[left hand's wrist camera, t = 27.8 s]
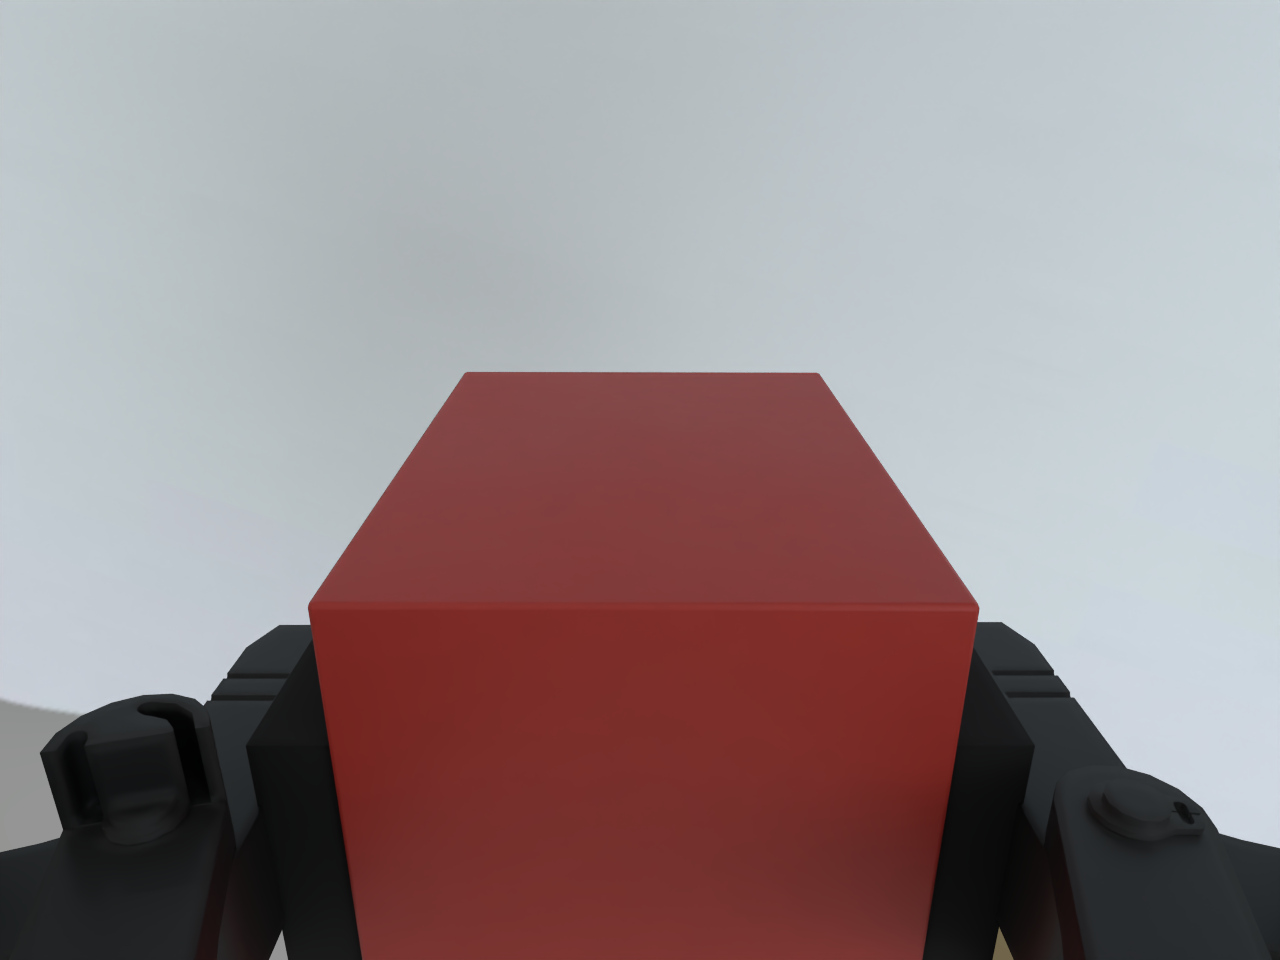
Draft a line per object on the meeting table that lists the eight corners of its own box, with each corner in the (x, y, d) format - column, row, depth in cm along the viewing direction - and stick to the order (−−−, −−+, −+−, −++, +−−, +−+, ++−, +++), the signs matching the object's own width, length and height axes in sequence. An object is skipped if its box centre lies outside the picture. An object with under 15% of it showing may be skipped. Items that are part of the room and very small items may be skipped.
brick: (487, 684, 16) (379, 1085, 9) (464, 370, 14) (305, 603, 7) (795, 684, 16) (904, 1085, 9) (819, 371, 14) (983, 605, 7)
